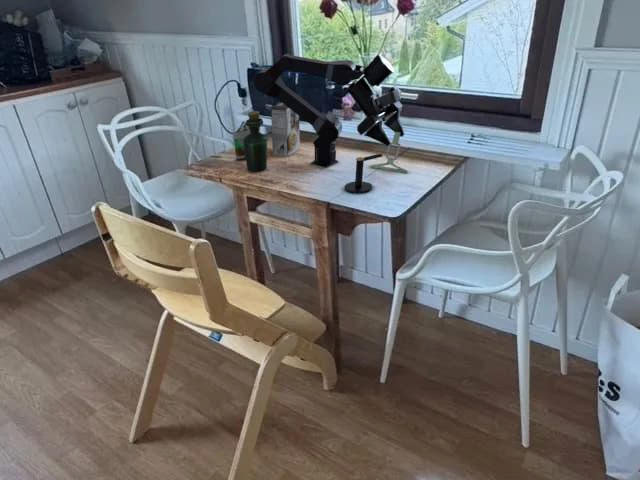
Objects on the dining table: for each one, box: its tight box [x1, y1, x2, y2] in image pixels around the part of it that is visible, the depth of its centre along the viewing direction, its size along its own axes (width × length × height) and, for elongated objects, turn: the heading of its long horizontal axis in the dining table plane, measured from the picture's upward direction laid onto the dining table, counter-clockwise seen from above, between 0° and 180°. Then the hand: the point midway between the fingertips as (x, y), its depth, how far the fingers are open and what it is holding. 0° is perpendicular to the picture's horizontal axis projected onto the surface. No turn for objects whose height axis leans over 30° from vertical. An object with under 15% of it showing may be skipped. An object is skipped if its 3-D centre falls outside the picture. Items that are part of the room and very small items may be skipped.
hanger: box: [370, 132, 408, 174], centre depth 161 cm, size 1×12×11 cm, turn 51°
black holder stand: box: [344, 152, 384, 195], centre depth 151 cm, size 8×12×9 cm
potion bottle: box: [243, 110, 269, 173], centre depth 169 cm, size 8×8×18 cm
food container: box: [232, 122, 250, 162], centre depth 182 cm, size 12×6×10 cm, turn 160°
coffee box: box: [270, 101, 301, 158], centre depth 180 cm, size 9×6×16 cm
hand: (396, 140), depth 156 cm, fingers open, 9 cm apart
